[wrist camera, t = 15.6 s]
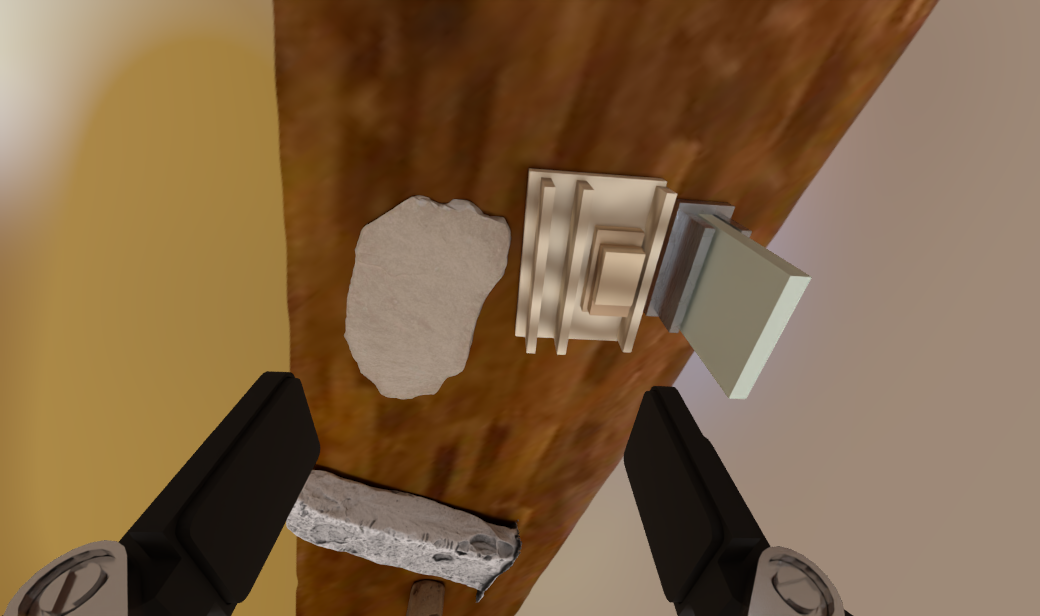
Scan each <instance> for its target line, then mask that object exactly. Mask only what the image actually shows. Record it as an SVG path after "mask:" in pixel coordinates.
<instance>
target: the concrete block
mask: <svg viewBox="0 0 1040 616" xmlns="http://www.w3.org/2000/svg"><path fill="white" fill-rule="evenodd" d="M517 522H518V521H517ZM286 523H287V524H286V525H287V528H288V529H289V530H291V531H292V532H293V533H294V534H295V535H297V536H299V537H300V538H302V539H304V540H306V541H308V542H311V543H313V544H315V545H317V546H322V547H325V548H328V549H333V550H336V551H346V552H348V553H351V554H355V555H356V556H360V557H363V558H365V559H368V560H370V561H373V562H376V563H378V564H384V565H390V566H395V567H401V568H404V569H407V570H410V571H413V572H417V573H422V574H427V575H435V576H439V577H443V578H446V579H449V580H451V581H454V582H458V583H462V584H466V585H467V586H469V587H473V588H476V589H477V594H476V601H477V602H479V600H481V598H482V597H483V595H484V591H485V590H487V588H489V586H490V585H491V584H492V583H493V581H494V580H495V579H496V578H497V577H498V576H499V575H500V574H502V573H503V572H505V571H506V570H508V569H509V568H510V567H511V566H512V565H513V563H514V561H515V560H516V558H517V557H518V555H519V553H520V551H519V550H521V548H520V547H521V546H522V544H520V543H522V541H521V542H520V540H519V539H520V538H518V536H519V535H518V534H519V533H518V532H519V530H518V528H517V523H516V522H515V523H513V524H512V525H511V526H510V527H509V528H507V527H504V526H496V524H489V523H486V522H485V521H484V520H482V519H481V518H478V517H476V516H475V515H472V514H469V513H466V512H464V511H461V510H456V509H453V508H450V507H448V506H446V505H442V504H440V503H437V502H435V501H432V500H428V499H426V498H423V497H421V496H415V495H413V494H409V493H403V492H400V491H394V490H393V491H390V490H386V489H380V488H374V487H370V486H368V485H365V484H362V483H359V482H356V481H352V480H349V479H344V478H342V477H339V476H336V475H334V474H333V473H329V472H326V471H321V470H312V471H311V473H310V475H309V477H308V479H307V481H306V483H305V485H304V487H303V489H302V491H301V493H300V495H299V497H298V499H297V501H296V503H295V505H294V507H293V509H292V511H291V512H290V514H289V516H288V518H287V520H286ZM520 532H521V531H520ZM519 537H520V536H519ZM518 551H519V553H518ZM477 602H476V603H477Z"/></svg>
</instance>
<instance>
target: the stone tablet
mask: <svg viewBox="0 0 1040 616" xmlns="http://www.w3.org/2000/svg"><path fill="white" fill-rule="evenodd" d="M510 233H511V231H510V228H509V226H508V224H507V222H506V220H505V218H504V217H499V216H491V217H490V216H488V215H486V214H483V212H482V211H481V210H480V209H479V208H478V207H477V206H476V205H474V204H473V203H472V202H470V201H468V200H458V199H453V200H452V201H451V202H449V203H447V204H439V203H437V202H435V201H432V200H430V198H428V197H425V196H420V195H418V196H413V197H411V198H409V199H407V200H406V201H404V202H402V203H401V204H399V205H398V206H396V207H395V208H394V209H392V210H390V211H389V212H387V213H386V214H384V215H383V216H381V217H380V218H378V219H377V220H375V221H373V222H372V223H370V224H368V225H366V226H365V227H364V228H363V229H362V231H361V233H360V237H359V240H358V242H357V246H356V248H355V253H356V258H355V267H354V269H353V276H352V278H351V285H350V287H349V293H348V298H347V317H346V332H345V334H344V336H345V338H346V340H347V342H348V344H349V346H350V347H349V348H350V351H351V353H352V356H353V358H354V359H355V360H356V361H357V363H358V366H359V368H360V372H361V373H362V374H363V375H365V376H366V377H367V378H369V379H370V380H371V381H372V382H373V383H374V384H375V385H376V387H377V388H378V390H379V392H380V393H381V394H382V395H384V396H386V397H391V398H399V399H412V398H414V397H416V396H419V395H424V394H426V395H429V394H433V395H434V394H435V393H436V392H437V391H438V390H439V388H440V387H441V385H442V383H443V382H444V380H445V379H446V378H447V377H451V376H454V375H457V374H458V373H460V372H462V371H463V369H464V367H465V364H466V360H467V358H468V355H469V351H470V346H471V345H472V341H473V333H474V329H475V325H476V321H477V318H478V316H479V314H480V311H481V308H482V305H483V303H484V300H485V299H486V297H487V296H488V295H489V292H490V291H491V290H492V288H493V287H494V286H495V284H496V283H497V282H498V281H499V280H500V279H501V277H502V276H503V274H504V272H505V268H506V265H507V256H508V250H509V247H510V241H511V235H510Z"/></svg>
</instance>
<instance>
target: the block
mask: <svg viewBox="0 0 1040 616" xmlns="http://www.w3.org/2000/svg"><path fill="white" fill-rule="evenodd" d="M443 602H444V586H443V585H442V584H441V583H439V582H435V581H431V580H423V581H420V582H417V583H414V584H413V586H412V589H411V594H410V599H409V604H408V609H407V614H406V616H442V612H443Z"/></svg>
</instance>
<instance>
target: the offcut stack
mask: <svg viewBox="0 0 1040 616" xmlns="http://www.w3.org/2000/svg"><path fill="white" fill-rule="evenodd" d="M644 235H645V232H644V231H643V230H642V229H641V228H630V227H615V226H600V225H595V228H594V233H593V239H592V244H591V249H590V255H589V260H588V265H587V271H586V276H585V281H584V287H583V292H582V297H581V303H580V307H581V310H582V312H589V315H596V316H616V317H628V313H629V309H630V306H632V303H633V299H634V296H635V292H636V288H637V285H638V281H639V277H640V274H641V270H642V266H643V263H644V259H645V255H646V254H645V251H644V250H643V249H642V248H641V246H642V242H643V238H644Z"/></svg>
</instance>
